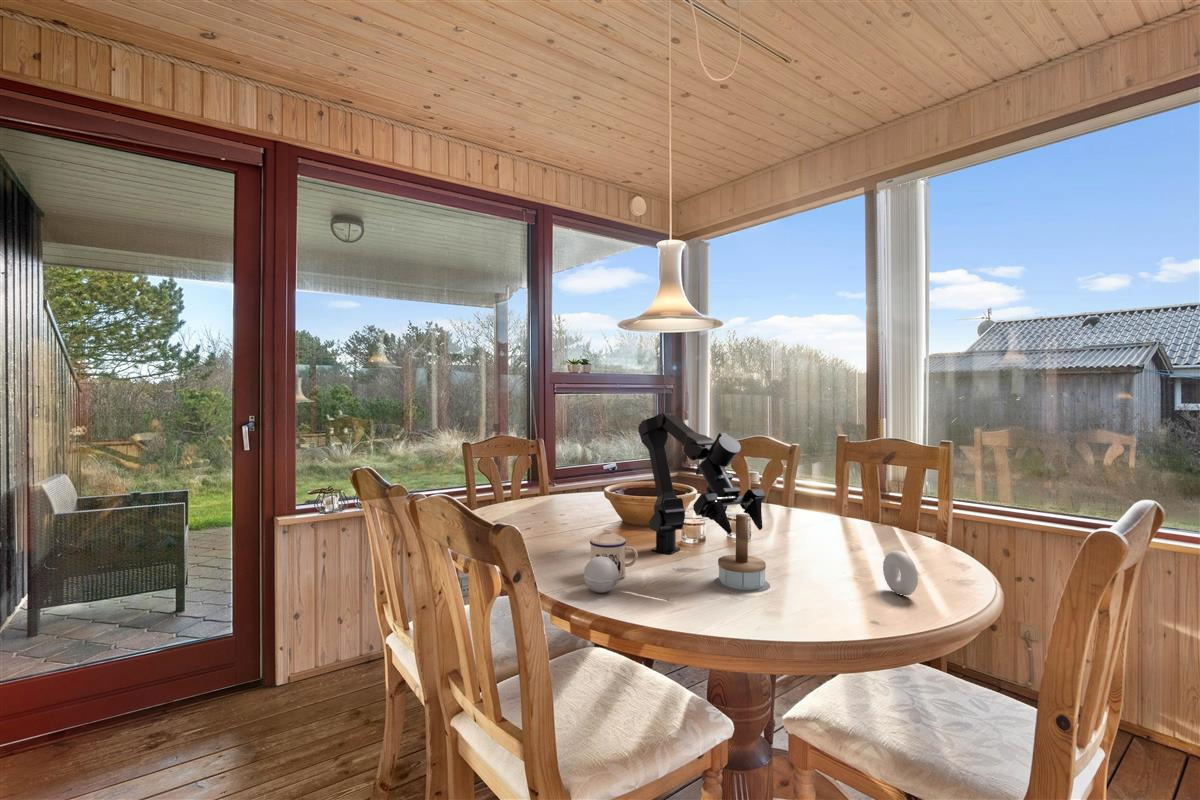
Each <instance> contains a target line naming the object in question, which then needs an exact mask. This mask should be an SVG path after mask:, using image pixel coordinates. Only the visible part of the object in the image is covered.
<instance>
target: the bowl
mask: <svg viewBox="0 0 1200 800" xmlns="http://www.w3.org/2000/svg"><path fill="white" fill-rule="evenodd" d="M718 577H719V579H720V582H721V584H722V585H724V586H726V587H728V588H732V589H737V590H757V589H760V588H762V587H763V586H764V582H765V581H766V569H765V570H763V571H760V572H753V573H743V572H734V571H729V570H726V569H723V568H721V567H720V566H719V565H718Z"/></svg>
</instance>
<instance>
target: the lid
mask: <svg viewBox="0 0 1200 800" xmlns="http://www.w3.org/2000/svg"><path fill="white" fill-rule="evenodd" d="M748 544H749V514H746V513H736V514H735V554H731V555H730V554H729V555H724V556H721V557H718V560H717V565H718V567H719V566H720V567H721V568H723V569H726V570H729V571H734V572H743V573H753V572H760V571H763V570H765V571H766V565H767V563H766V561H765V560H764V559H762V558H759V557H755V556H751V555H749V552H748V551H749V549H748V548H749V547H748Z"/></svg>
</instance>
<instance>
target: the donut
mask: <svg viewBox="0 0 1200 800" xmlns="http://www.w3.org/2000/svg"><path fill="white" fill-rule="evenodd" d="M882 570H883V571H882V572H883V576H884V580H885V582H886V584H887V587H889V589H890V590H891V592H893V591H894V592H893V593H895V592H896V593H898V594H902V595H907V596H911V595H912V594H913V593H914V592H915V591H916V589H917V587H918V584H919V583H918V582H919V576H918V570H917V567H916V565H915V562H914V560H913V559H912V558H911V557H910V556H909V554H907V553H905V552H904V551H902V550H896V549H894V550H892V551H890V552H888V553H887V555H885V557H884V560H883V564H882ZM896 593H895V594H896ZM898 594H897V595H898Z"/></svg>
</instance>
